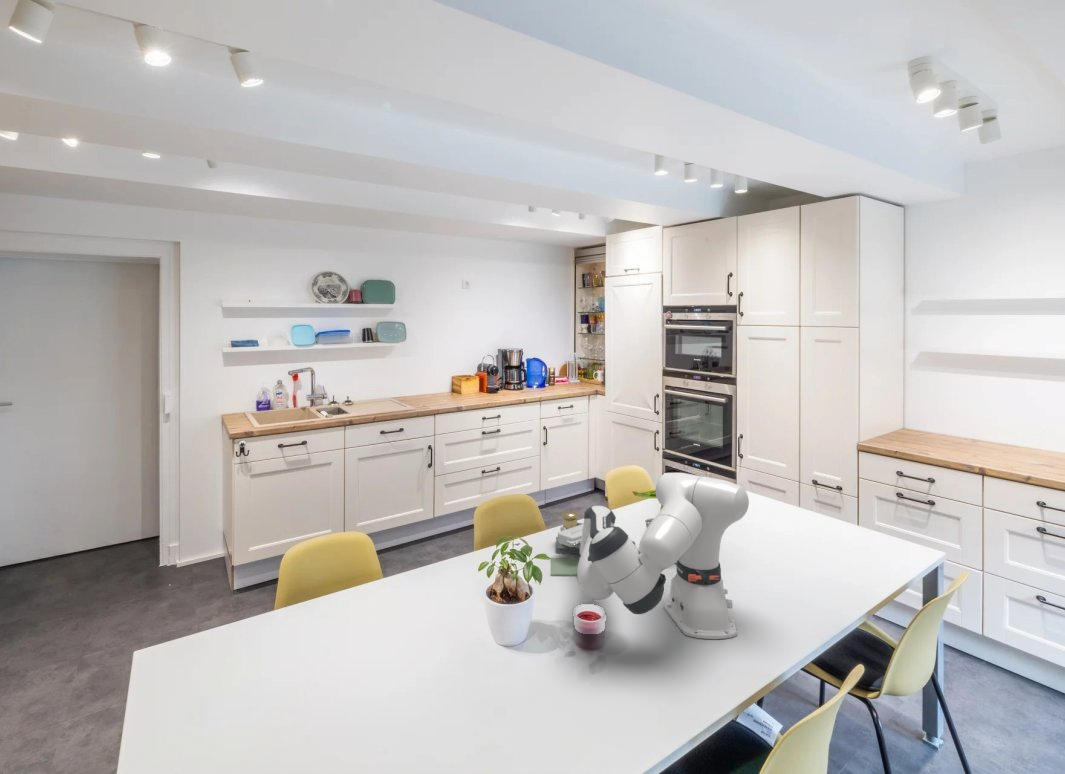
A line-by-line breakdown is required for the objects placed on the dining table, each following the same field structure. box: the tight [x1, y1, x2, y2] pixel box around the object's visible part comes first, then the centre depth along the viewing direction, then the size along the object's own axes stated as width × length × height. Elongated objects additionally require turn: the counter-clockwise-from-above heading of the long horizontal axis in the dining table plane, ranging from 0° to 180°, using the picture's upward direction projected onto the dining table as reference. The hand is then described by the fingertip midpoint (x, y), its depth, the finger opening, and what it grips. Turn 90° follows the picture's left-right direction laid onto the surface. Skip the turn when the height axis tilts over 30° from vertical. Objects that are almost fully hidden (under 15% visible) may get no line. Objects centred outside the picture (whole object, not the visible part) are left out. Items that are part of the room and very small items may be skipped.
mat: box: [550, 557, 580, 577], centre depth 183 cm, size 12×10×1 cm
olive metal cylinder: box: [561, 509, 579, 546], centre depth 196 cm, size 6×6×12 cm
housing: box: [555, 536, 580, 555], centre depth 197 cm, size 10×10×2 cm
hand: (568, 526), depth 197 cm, fingers closed on olive metal cylinder, 5 cm apart
